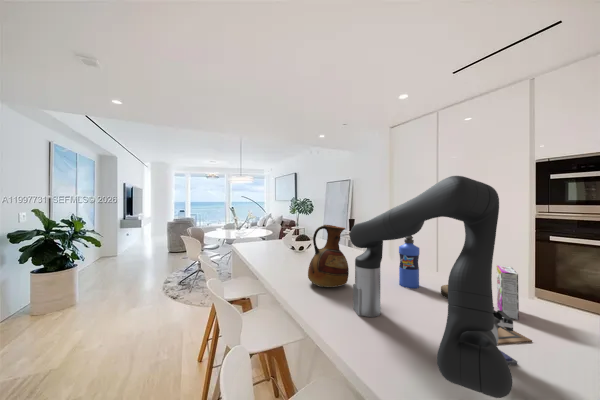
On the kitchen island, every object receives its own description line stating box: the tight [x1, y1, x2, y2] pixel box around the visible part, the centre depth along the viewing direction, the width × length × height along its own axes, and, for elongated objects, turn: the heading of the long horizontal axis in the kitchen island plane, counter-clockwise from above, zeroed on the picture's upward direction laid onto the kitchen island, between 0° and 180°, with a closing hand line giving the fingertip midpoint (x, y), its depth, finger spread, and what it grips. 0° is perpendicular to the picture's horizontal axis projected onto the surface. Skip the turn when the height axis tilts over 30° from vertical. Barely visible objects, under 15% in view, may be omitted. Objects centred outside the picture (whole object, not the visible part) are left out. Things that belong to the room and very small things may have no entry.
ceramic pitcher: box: [307, 223, 350, 288], centre depth 121 cm, size 20×20×30 cm
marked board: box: [497, 326, 533, 345], centre depth 78 cm, size 14×14×1 cm
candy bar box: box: [496, 265, 520, 321], centre depth 91 cm, size 11×5×16 cm, turn 148°
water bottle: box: [398, 235, 420, 290], centre depth 120 cm, size 9×9×25 cm
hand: (479, 305), depth 69 cm, fingers closed on cork, 3 cm apart
